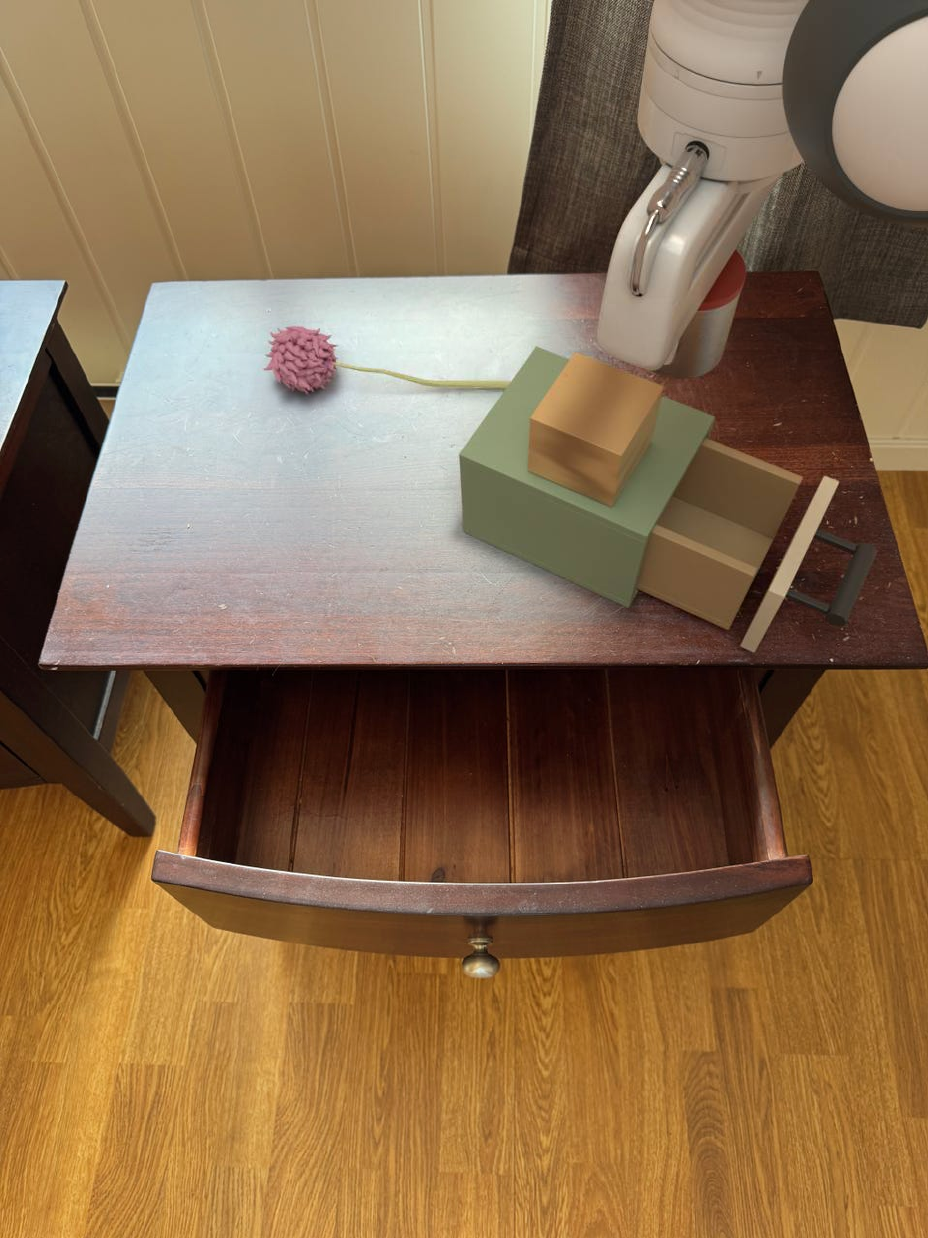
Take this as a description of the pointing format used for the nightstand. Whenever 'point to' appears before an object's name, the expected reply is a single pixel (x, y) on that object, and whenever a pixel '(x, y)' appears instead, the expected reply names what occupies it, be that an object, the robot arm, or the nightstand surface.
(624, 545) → the cabinet
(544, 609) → the nightstand surface
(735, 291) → the tin
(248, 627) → the nightstand surface
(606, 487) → the riser
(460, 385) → the artificial flower
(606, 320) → the robot arm
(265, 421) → the nightstand surface
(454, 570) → the nightstand surface
